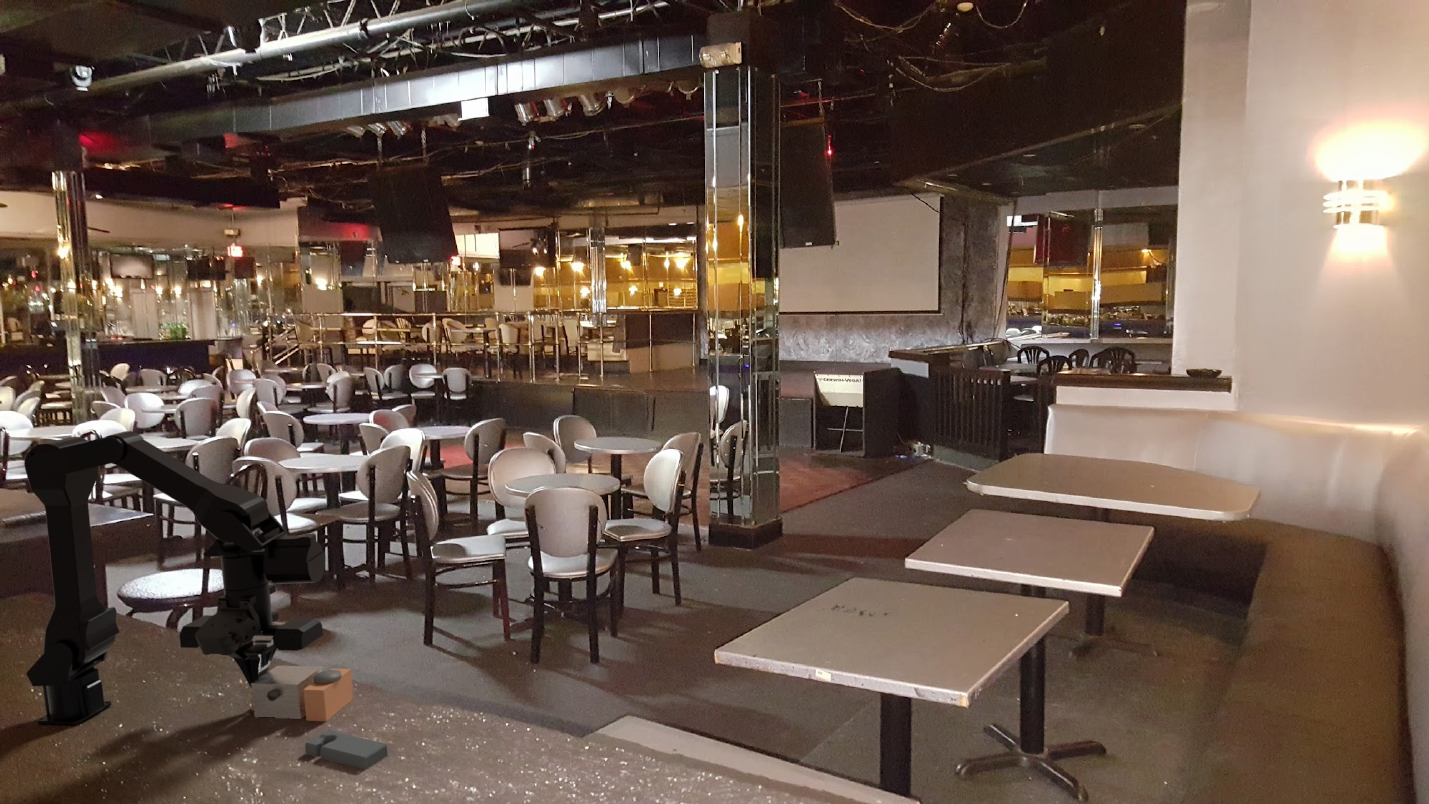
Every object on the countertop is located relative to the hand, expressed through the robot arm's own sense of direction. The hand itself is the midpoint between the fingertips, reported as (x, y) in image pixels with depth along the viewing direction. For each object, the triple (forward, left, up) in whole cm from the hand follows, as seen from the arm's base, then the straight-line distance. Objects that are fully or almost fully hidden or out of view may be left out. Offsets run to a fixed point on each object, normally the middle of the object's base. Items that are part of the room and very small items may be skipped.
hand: (257, 689), depth 130 cm
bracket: (+20, -12, -3) cm, 24 cm away
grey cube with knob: (+5, 0, -3) cm, 6 cm away
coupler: (+6, 0, -3) cm, 7 cm away
